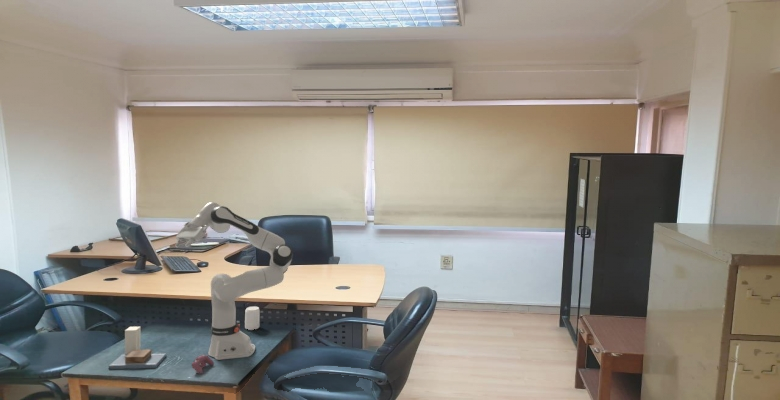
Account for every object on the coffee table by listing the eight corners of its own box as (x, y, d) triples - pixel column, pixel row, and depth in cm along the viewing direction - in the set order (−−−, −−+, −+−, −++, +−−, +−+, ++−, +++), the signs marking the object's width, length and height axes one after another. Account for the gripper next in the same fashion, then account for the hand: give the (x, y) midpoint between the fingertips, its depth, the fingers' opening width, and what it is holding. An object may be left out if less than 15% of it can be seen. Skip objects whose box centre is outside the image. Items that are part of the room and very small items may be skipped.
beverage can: (254, 331, 235) (254, 311, 234) (242, 329, 237) (242, 309, 236) (262, 326, 243) (262, 307, 242) (250, 324, 245) (250, 305, 244)
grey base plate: (166, 356, 200) (166, 347, 199) (155, 367, 188) (155, 358, 188) (122, 357, 197) (122, 348, 197) (108, 368, 185) (108, 359, 185)
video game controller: (207, 367, 194) (201, 353, 194) (215, 363, 193) (209, 350, 193) (194, 377, 184) (188, 362, 184) (202, 373, 183) (196, 359, 183)
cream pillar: (140, 349, 206) (140, 326, 205) (135, 353, 201) (135, 330, 200) (129, 349, 205) (130, 326, 204) (124, 354, 200) (124, 330, 200)
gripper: (212, 229, 217) (196, 250, 208) (192, 230, 228) (175, 250, 220) (204, 221, 213) (187, 242, 205) (183, 223, 225) (166, 243, 216)
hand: (181, 246), depth 212 cm, fingers open, 8 cm apart
